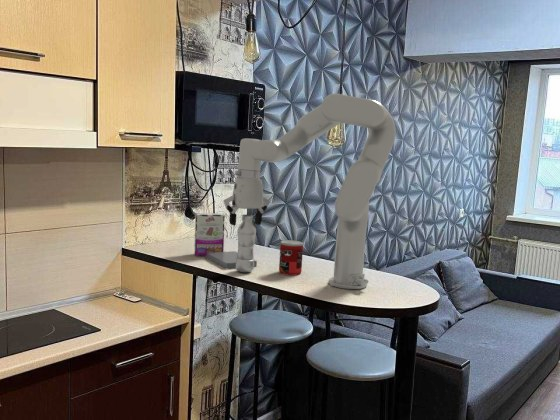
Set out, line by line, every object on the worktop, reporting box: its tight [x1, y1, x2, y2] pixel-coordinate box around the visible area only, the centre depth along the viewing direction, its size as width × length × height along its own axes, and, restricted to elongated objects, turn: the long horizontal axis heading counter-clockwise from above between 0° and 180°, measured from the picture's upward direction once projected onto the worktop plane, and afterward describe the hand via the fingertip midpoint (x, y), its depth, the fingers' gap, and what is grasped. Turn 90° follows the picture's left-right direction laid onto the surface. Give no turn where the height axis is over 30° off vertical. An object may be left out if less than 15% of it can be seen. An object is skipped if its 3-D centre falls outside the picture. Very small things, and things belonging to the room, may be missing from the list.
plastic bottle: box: [235, 213, 257, 273], centre depth 188 cm, size 6×7×20 cm
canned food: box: [278, 239, 304, 276], centre depth 192 cm, size 8×8×11 cm
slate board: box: [206, 250, 258, 270], centre depth 203 cm, size 18×12×2 cm, turn 31°
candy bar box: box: [194, 212, 225, 257], centre depth 213 cm, size 11×5×16 cm, turn 104°
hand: (245, 224), depth 188 cm, fingers open, 9 cm apart
